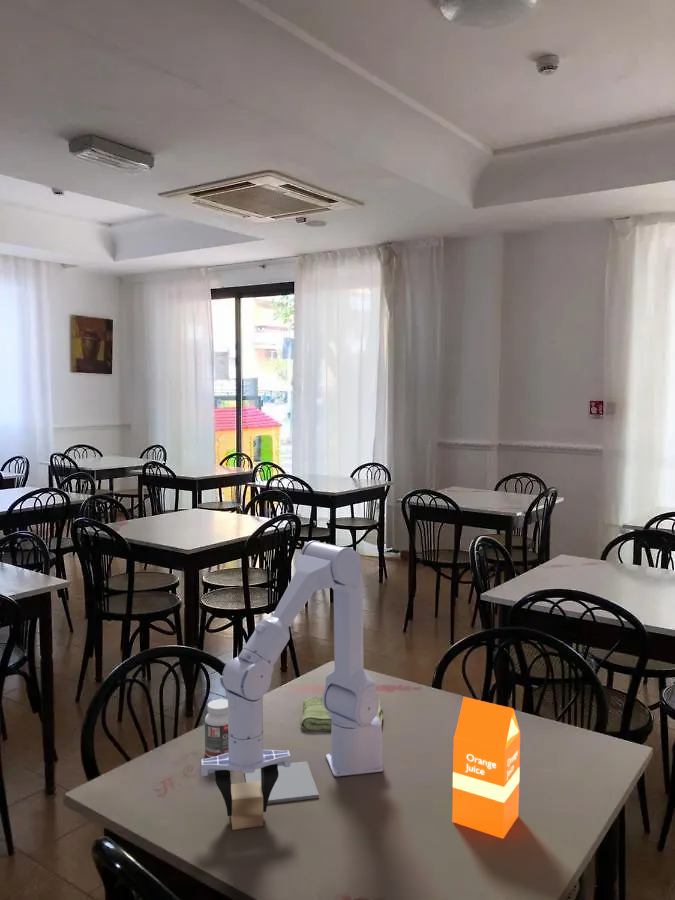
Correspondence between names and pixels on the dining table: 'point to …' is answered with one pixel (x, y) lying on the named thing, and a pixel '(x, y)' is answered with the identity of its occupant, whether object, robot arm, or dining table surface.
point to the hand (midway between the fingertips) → (246, 810)
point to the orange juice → (486, 767)
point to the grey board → (289, 783)
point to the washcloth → (321, 715)
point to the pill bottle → (216, 728)
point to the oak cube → (246, 805)
